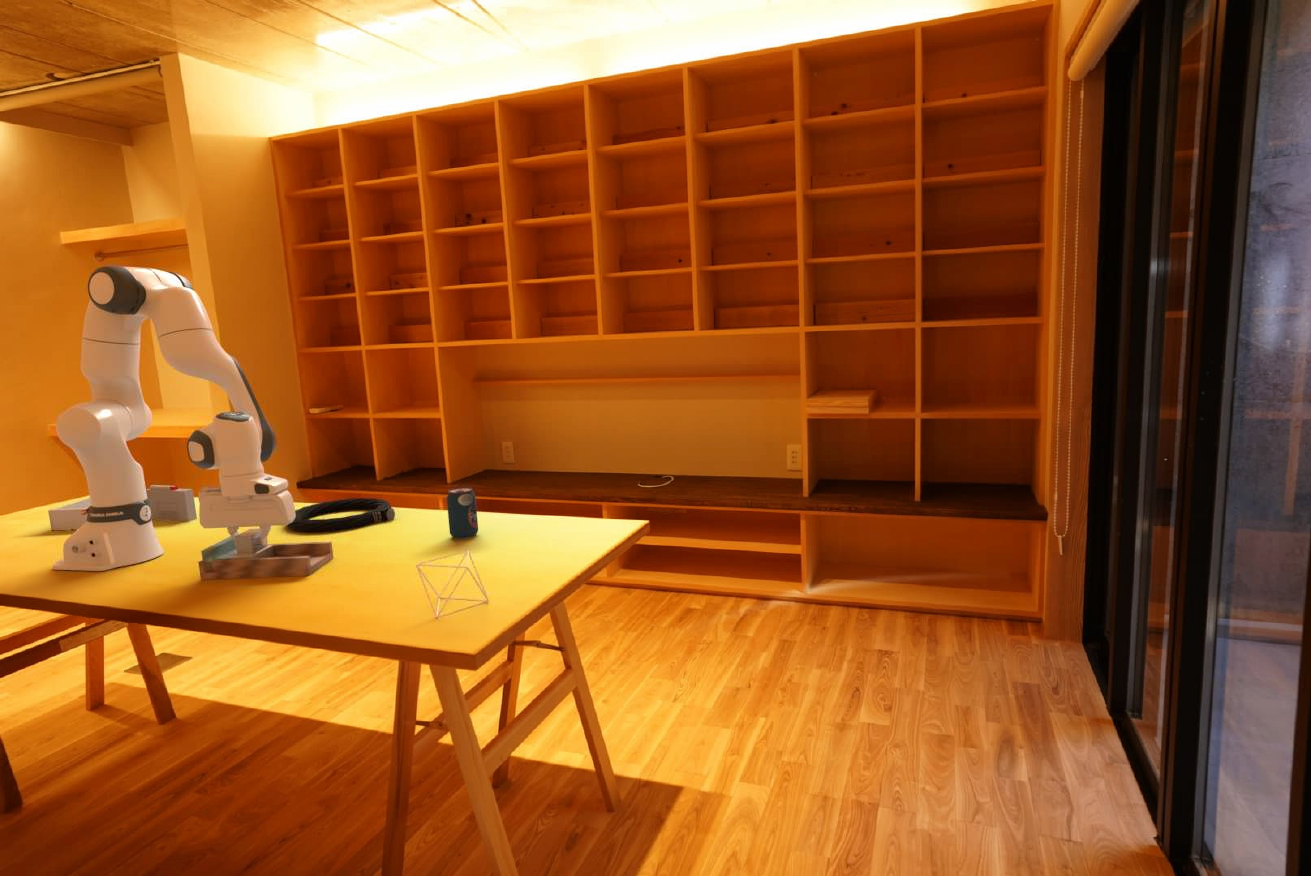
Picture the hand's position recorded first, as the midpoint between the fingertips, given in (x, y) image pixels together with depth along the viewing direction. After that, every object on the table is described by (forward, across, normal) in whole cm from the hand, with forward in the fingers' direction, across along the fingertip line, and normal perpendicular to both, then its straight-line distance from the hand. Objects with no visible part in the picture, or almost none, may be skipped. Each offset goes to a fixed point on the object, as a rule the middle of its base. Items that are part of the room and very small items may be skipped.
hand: (251, 545), depth 171 cm
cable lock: (+6, +2, +42) cm, 43 cm away
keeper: (+4, -2, 0) cm, 4 cm away
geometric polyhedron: (+6, +53, -27) cm, 60 cm away
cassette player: (+6, -53, +51) cm, 74 cm away
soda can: (+6, +42, +20) cm, 47 cm away
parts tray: (+6, -76, +54) cm, 93 cm away
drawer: (+6, +3, 0) cm, 6 cm away
